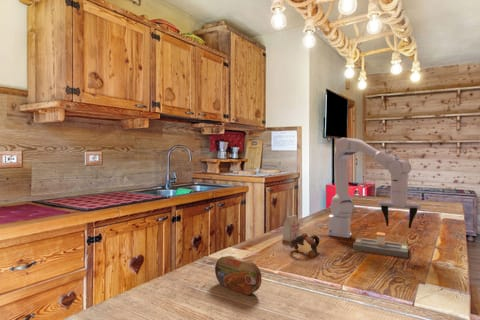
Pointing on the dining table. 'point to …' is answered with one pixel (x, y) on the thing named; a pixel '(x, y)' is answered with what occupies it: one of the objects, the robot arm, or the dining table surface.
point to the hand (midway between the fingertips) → (398, 226)
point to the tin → (238, 274)
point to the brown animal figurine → (309, 240)
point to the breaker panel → (381, 247)
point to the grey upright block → (291, 228)
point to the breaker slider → (380, 238)
